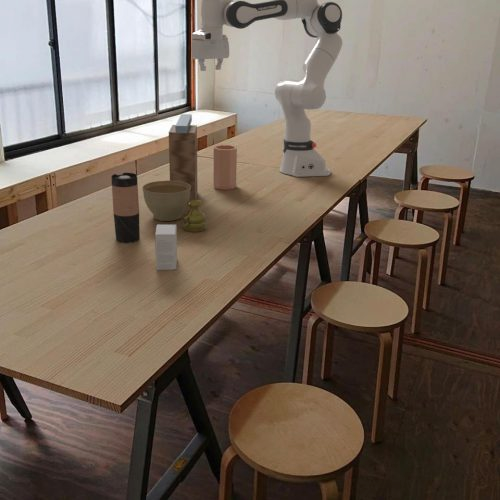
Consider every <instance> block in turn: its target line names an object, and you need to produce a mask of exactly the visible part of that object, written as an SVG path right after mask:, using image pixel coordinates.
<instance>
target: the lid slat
mask: <svg viewBox="0 0 500 500" xmlns="http://www.w3.org/2000/svg"><path fill="white" fill-rule="evenodd" d="M192 116H193V114H191V113H189V114H188V113H184V114H183V113H181V114H180V116H179V118H178V120H177V122H176V124H175V125H176V126H175V131H176V133H187V132H188V130H189V127H190V125H191V124H192V122H193V121H192V120H193V117H192Z"/></svg>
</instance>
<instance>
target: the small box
mask: <svg viewBox="0 0 500 500" xmlns="http://www.w3.org/2000/svg"><path fill="white" fill-rule="evenodd" d="M177 226H178V225H177V224H156V227H155V233H154V239H155V245H154V248H155V264H156V265H155V266H156V267H155V268H156V269H157V270H156V271H161V270H162V271H166V270H167V271H175V270H174V269H176V270H177V262H178V261H177V260H178V239H177V238H178V236H177V235H178V234H177V231H178V230H177Z"/></svg>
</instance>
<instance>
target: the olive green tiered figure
mask: <svg viewBox="0 0 500 500" xmlns="http://www.w3.org/2000/svg"><path fill="white" fill-rule="evenodd" d="M202 205H203V201H202V200H200V199H198V198H196V199H192V200H189V201H188V202H187V206H188V207H189V208H190V209H189V210H188V211H187V212H186V213H184V215H182V218H183V222H182V223H183V229H184V230H185V232H186V231H187V232H190V233H201V232H204V231H206V229H207V221H206V220H207V215H206V213H204V212H203V211H201V210H200V207H201V206H202Z"/></svg>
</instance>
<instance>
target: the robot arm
mask: <svg viewBox="0 0 500 500" xmlns="http://www.w3.org/2000/svg"><path fill="white" fill-rule="evenodd" d="M200 7H201V8H200V17H201V23H200V29H198V30H197V31H194V32H192V33H191V39H192V41H191V57H192V59H193V60H198V64H199V66H200V68H199V69H200V71H201V72H205V71H207V66H206V65H205V62H206V61H205V60H216V61H217V62H216V64H215V65H214V66H215V68H214V69H215V70H217V71H220V70H222V65H223V62H224V59H229V57H230V42H229V38H228V37H227V35H226V34H223V30H224V29H223V26H224V25H225V26H228V27H231V28H234V29H235V28H236V29H238V30H239V29H240V30H241V29H243V30H244V29H245V28H247V27H249V26H250V25H253V23H255V22H256V21H258V22H259V21H262V20H267V19H268V20H269V19H276V20H279V21H280V20H282V21H283V20H284V21H285V20H286V21H287V20H294V19H300V18H301V23H302V25H303V28H304V31H305V33H306V34H307V36H309V37H310V38H316V42H315V44H314V46H313V48H312V49H311V51H310V52H309V54H308V55H307V56H306V58H305V60H304V61H303V64H302V69H303V72H304V76H303V78H302V79H301V80H299V79H298V80H297V79H284V80H281V81H279V82H278V83H277V84H276V86H275V89H274V95H275V99H276V100H277V102H278V103H279V105H280V106H281V110H282V113H283V117H284V139H283V141H282V142H283V143H282V152H283V154H282V160H281V163H280V168H279V172H280V173H282V174H285V175H290V176H293V177H298V178H299V177H300V178H302V177H304V178H306V177H328V176H330V175H331V170H330V168H329V167H327V166H326V165H327V164H326V160H325V158H324V156H322V154H320V152H318V151H317V150H316V149H315V148H316V147H317V144H316V142H315V141H313V140H311V129H312V128H311V127H312V123H311V120H310V118H309V117H308V116H307V114H306V112H305V110H318V109H320V108H322V107H323V106H324V104H325V101H326V99H327V98H326V97H327V94H326V93H327V92H326V90H325V88H324V87H325V86H324V85H325V81H326V78H327V76H328V74H329V73H330V71H331V69H332V67H333V66H334V64H335V62H336V60H337V59H338V56H339V55H340V53H341V49H342V46H343V39H342V37H341V36H340V35H339V33H338V32H339V31H340V30H341V24H342V23H341V22H342V19H343V11H342V8H341V6H340V5H339V4H338V3H337V2H333V1H328V2H324V3H322V4H319V2H318V0H268V1H263V2H257V3H250V2H247V1H245V0H238V1H234V0H201V6H200Z"/></svg>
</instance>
